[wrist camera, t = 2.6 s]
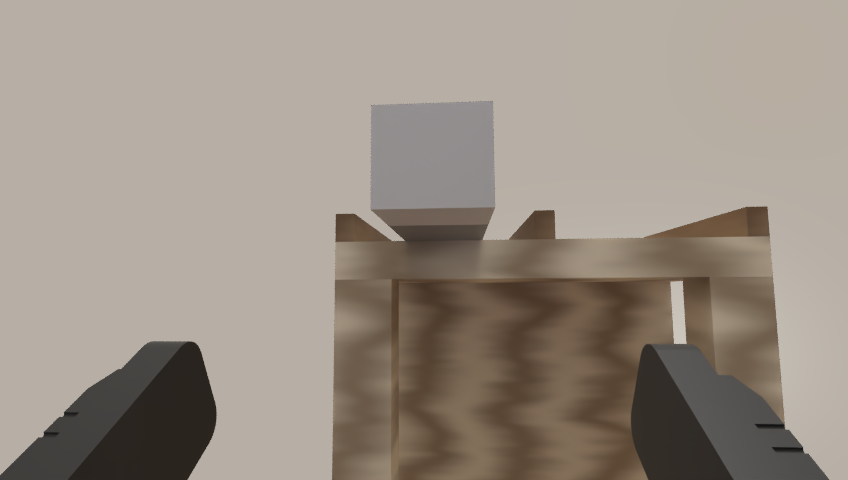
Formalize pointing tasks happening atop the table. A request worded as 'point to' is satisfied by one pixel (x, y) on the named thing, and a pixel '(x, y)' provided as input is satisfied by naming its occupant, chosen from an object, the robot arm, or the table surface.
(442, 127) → the grey rectangular bar
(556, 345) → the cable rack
